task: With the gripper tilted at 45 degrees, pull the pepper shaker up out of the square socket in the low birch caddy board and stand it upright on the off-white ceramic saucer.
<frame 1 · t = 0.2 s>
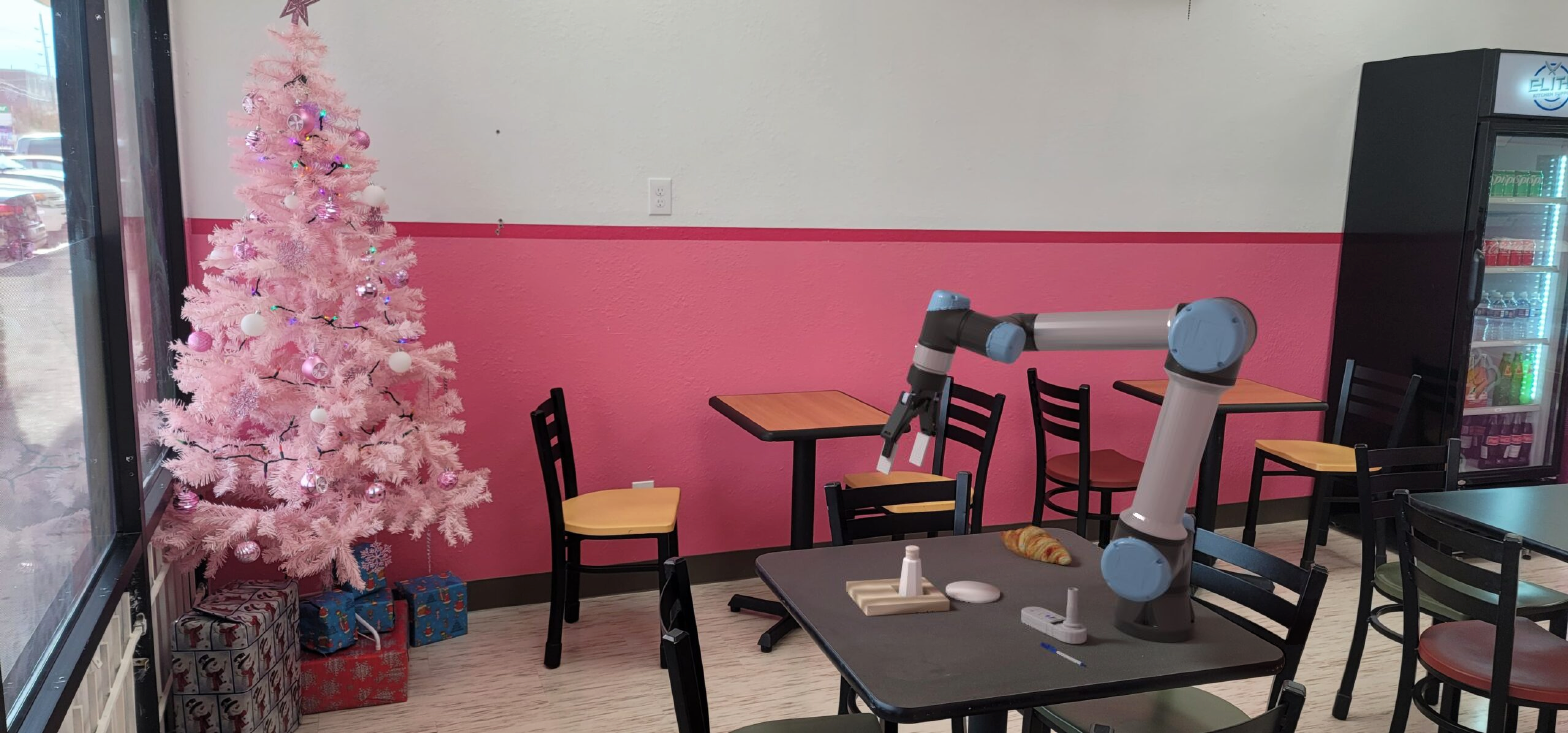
hand: (899, 468, 205), 27 cm above the table, tool pointing down, fingers open, 13 cm apart
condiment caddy: (896, 600, 206), on the table
saucer: (972, 593, 211), on the table
electronic device: (1052, 632, 193), on the table
ballpoint pen: (1062, 658, 181), on the table
pepper shaker: (910, 600, 207), resting in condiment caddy
croissant: (1033, 556, 238), on the table
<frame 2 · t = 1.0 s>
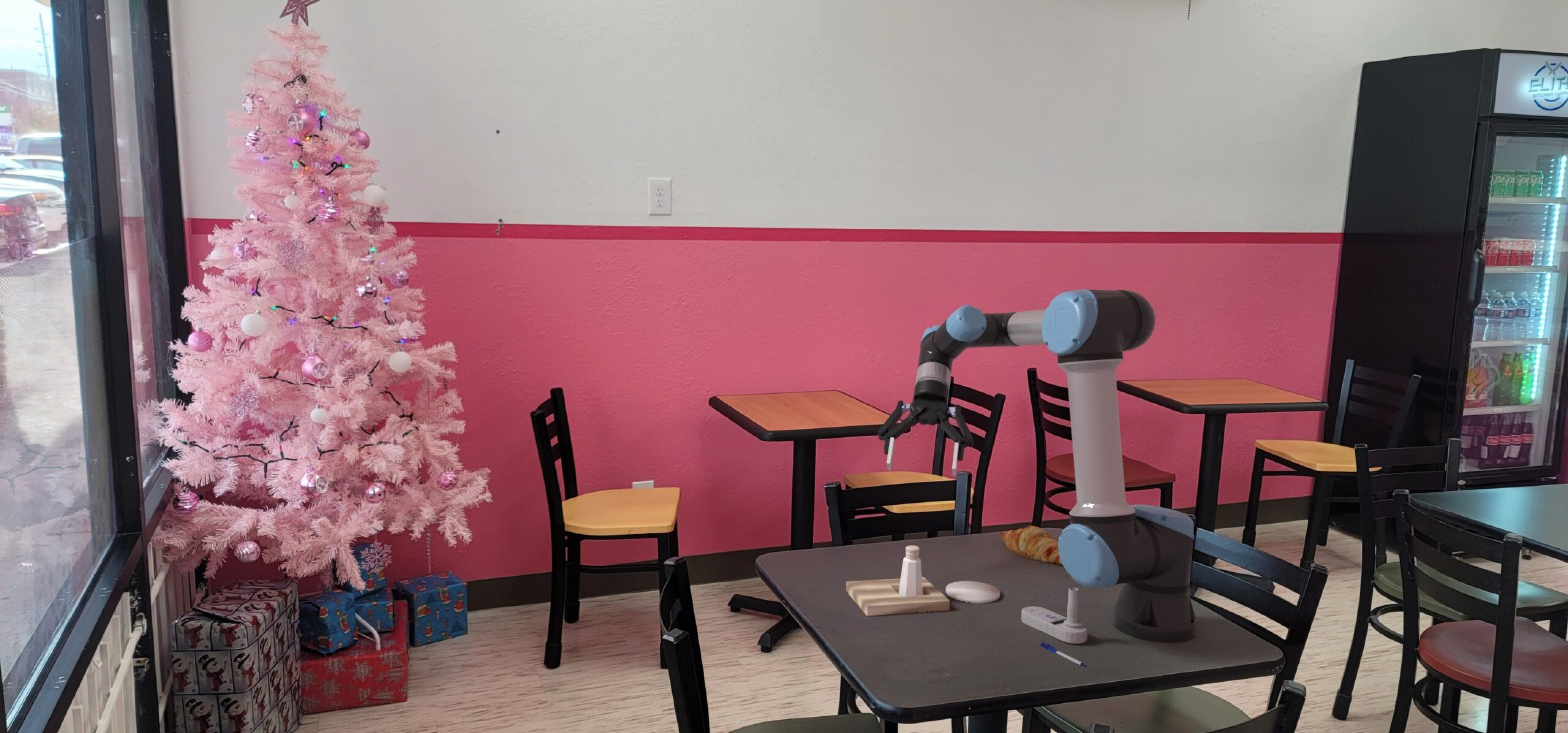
hand: (921, 469, 214), 25 cm above the table, tool tilted 45°, fingers open, 13 cm apart
nothing on the table moved.
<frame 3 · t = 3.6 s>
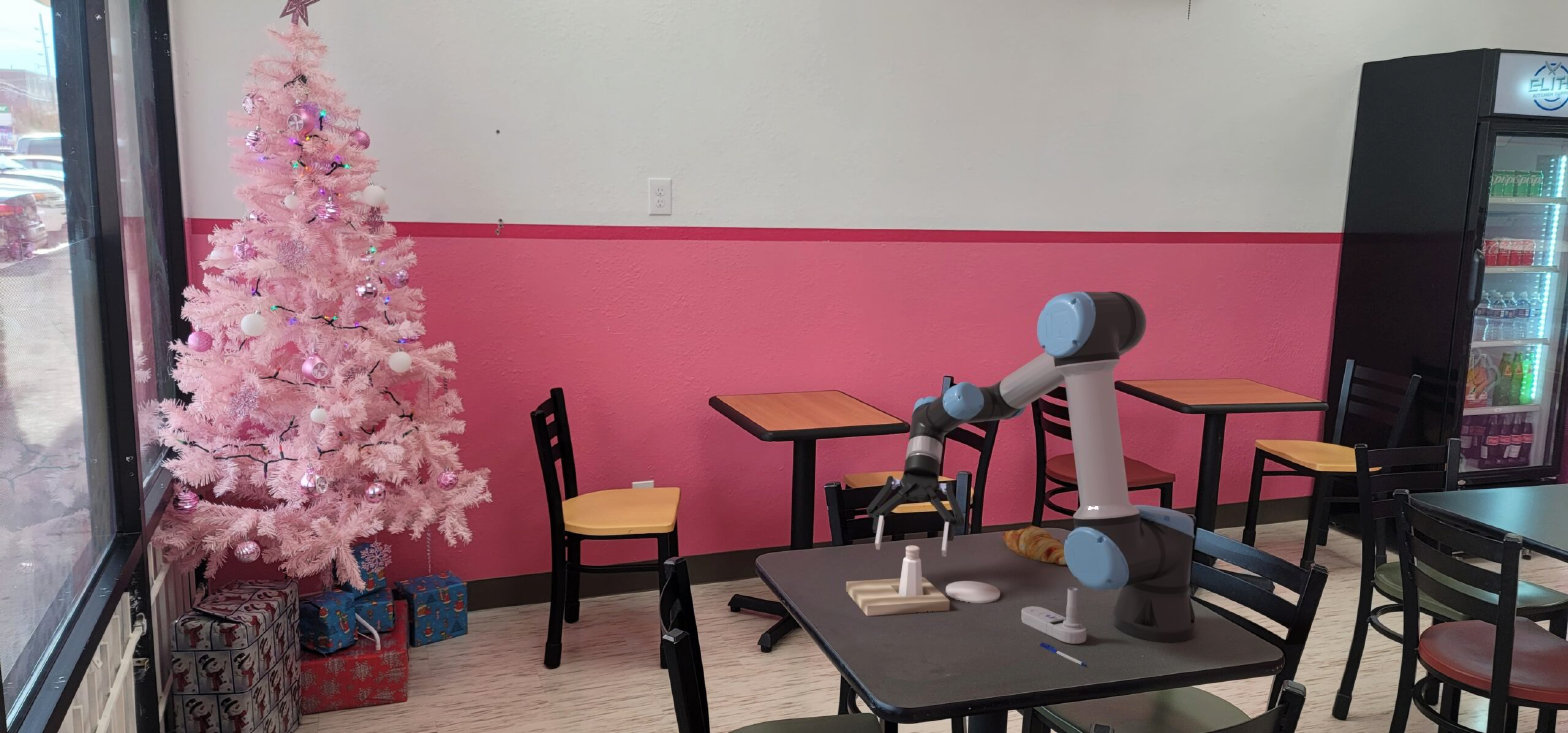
hand: (910, 550, 209), 9 cm above the table, tool tilted 45°, fingers open, 13 cm apart
nothing on the table moved.
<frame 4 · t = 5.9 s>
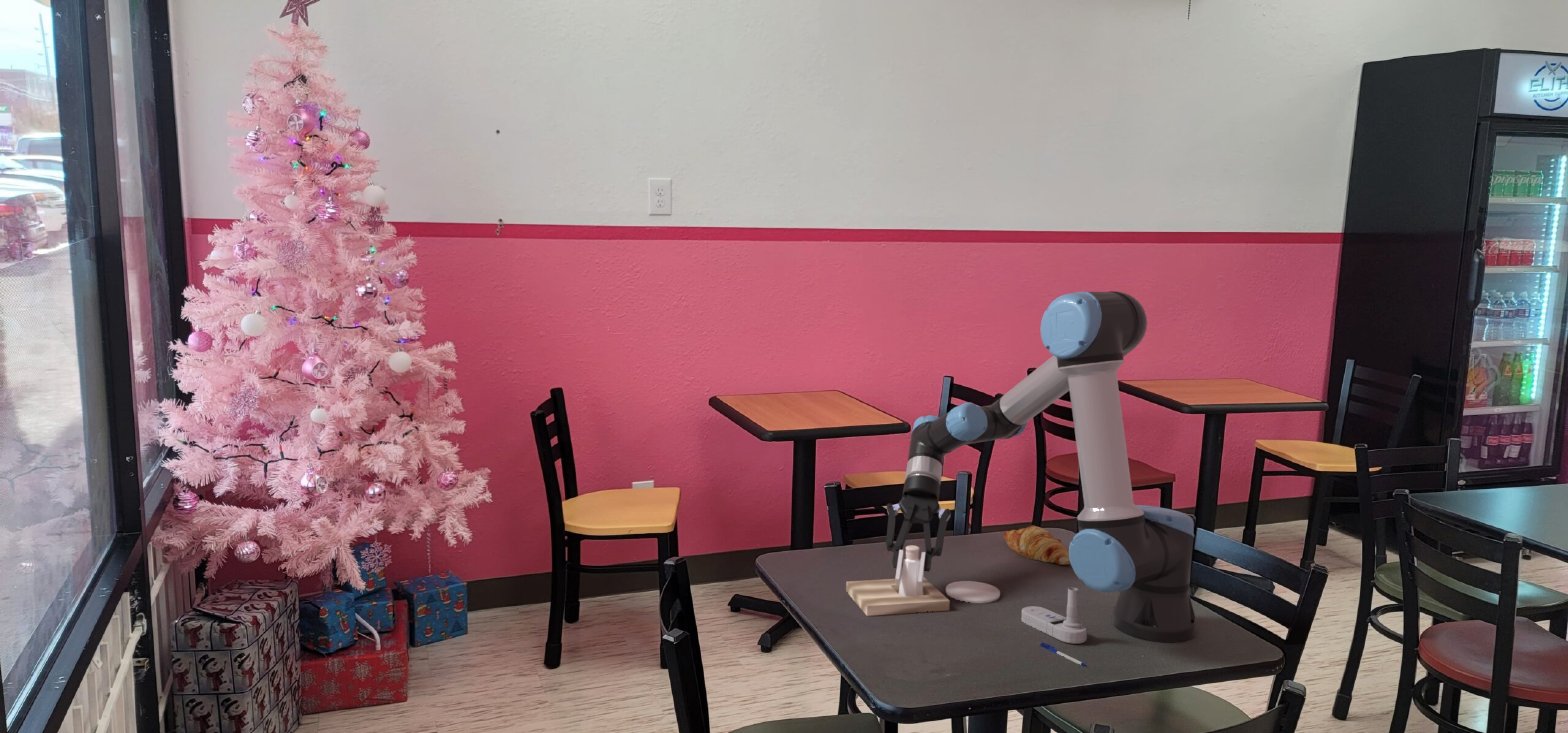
hand: (908, 583, 203), 5 cm above the table, tool tilted 45°, fingers closed on pepper shaker, 4 cm apart
pepper shaker: (910, 600, 207), resting in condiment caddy, touching gripper
everything else where it was.
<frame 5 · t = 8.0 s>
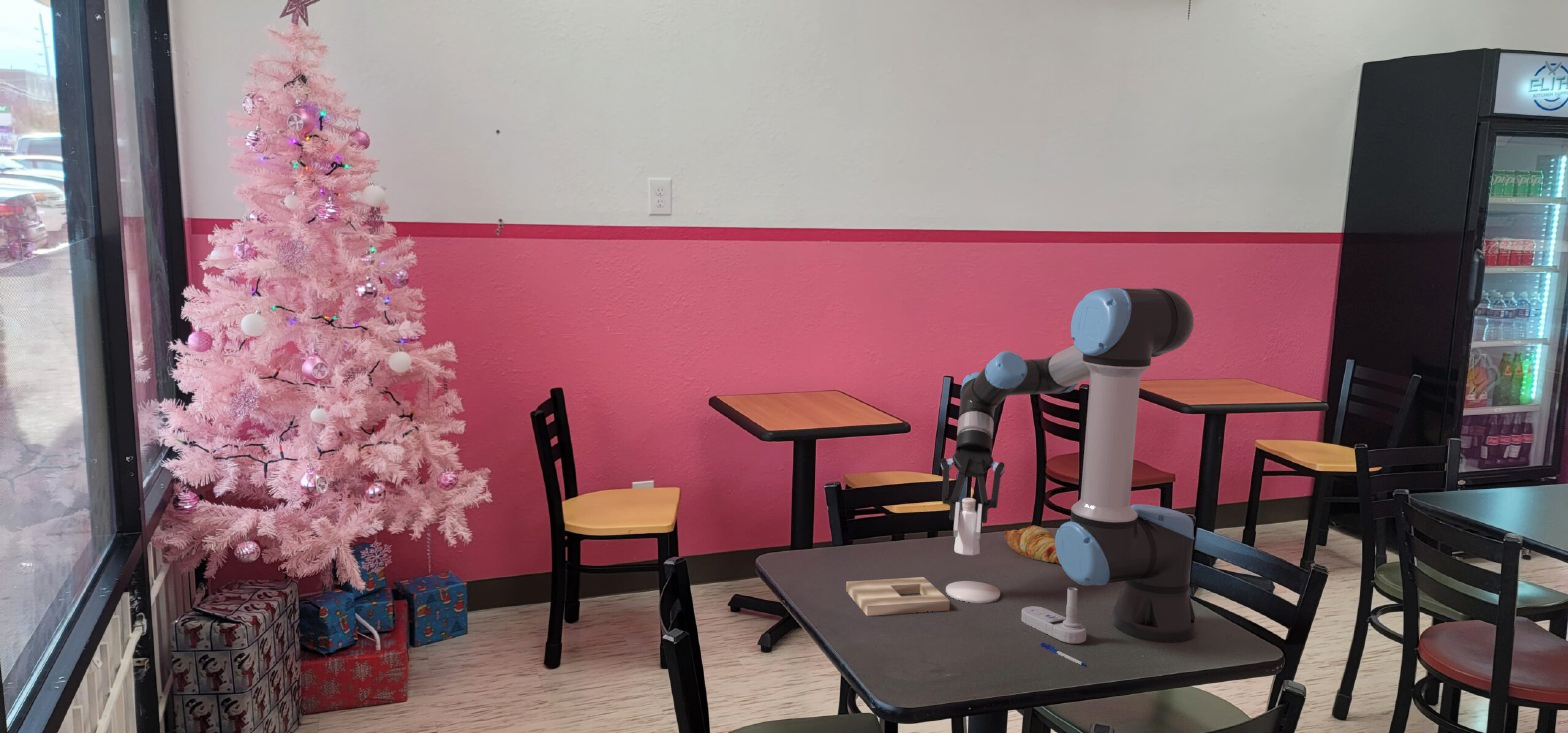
hand: (966, 534, 205), 14 cm above the table, tool tilted 45°, fingers closed on pepper shaker, 4 cm apart
pepper shaker: (966, 552, 210), point 9 cm above the table, touching gripper
everything else where it was.
when the fingers open (7 cm above the table, at t = 10.2 s): pepper shaker drops 1 cm, resting on saucer.
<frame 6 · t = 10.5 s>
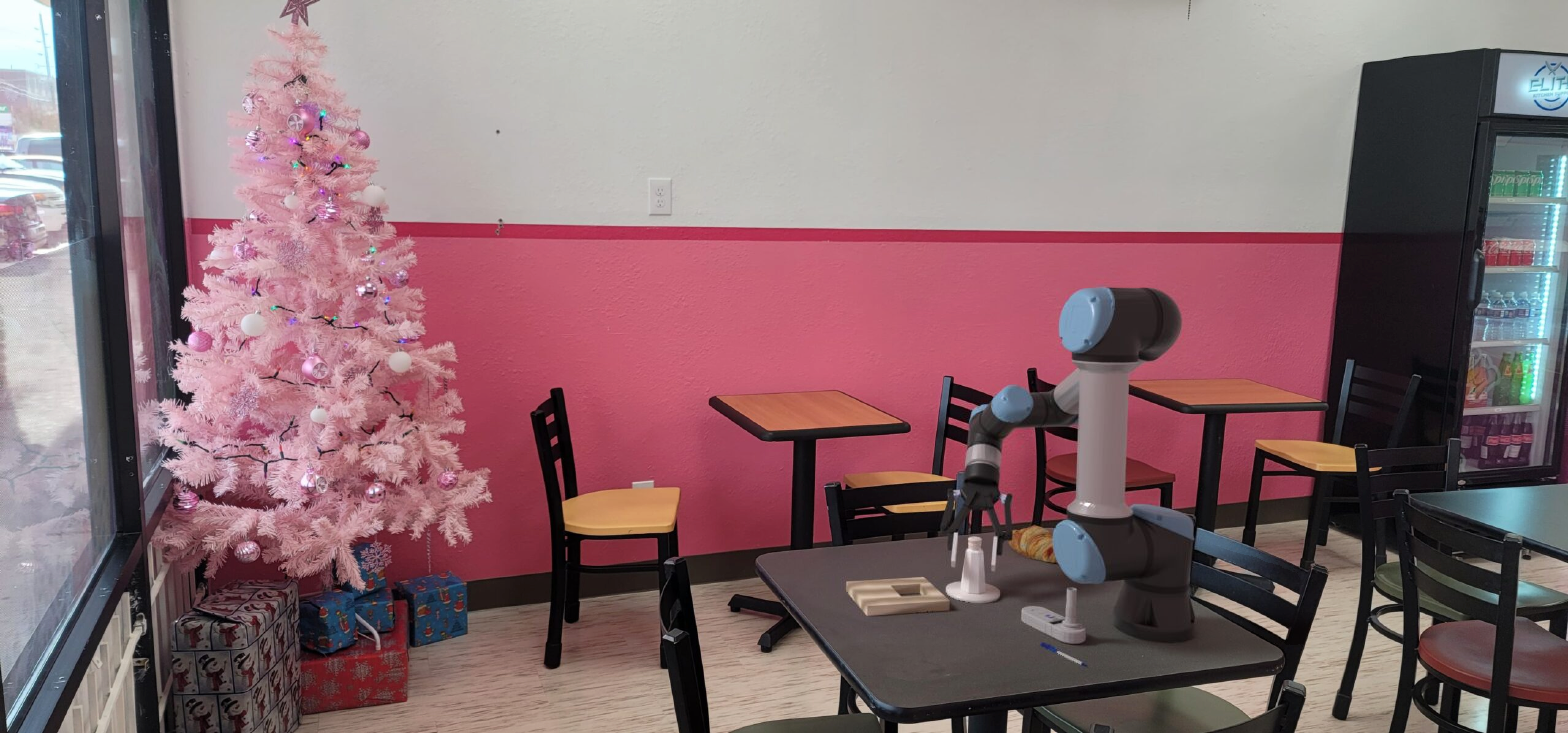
hand: (973, 566, 207), 7 cm above the table, tool tilted 45°, fingers open, 7 cm apart
pepper shaker: (972, 590, 211), point 1 cm above the table, touching saucer
everything else where it was.
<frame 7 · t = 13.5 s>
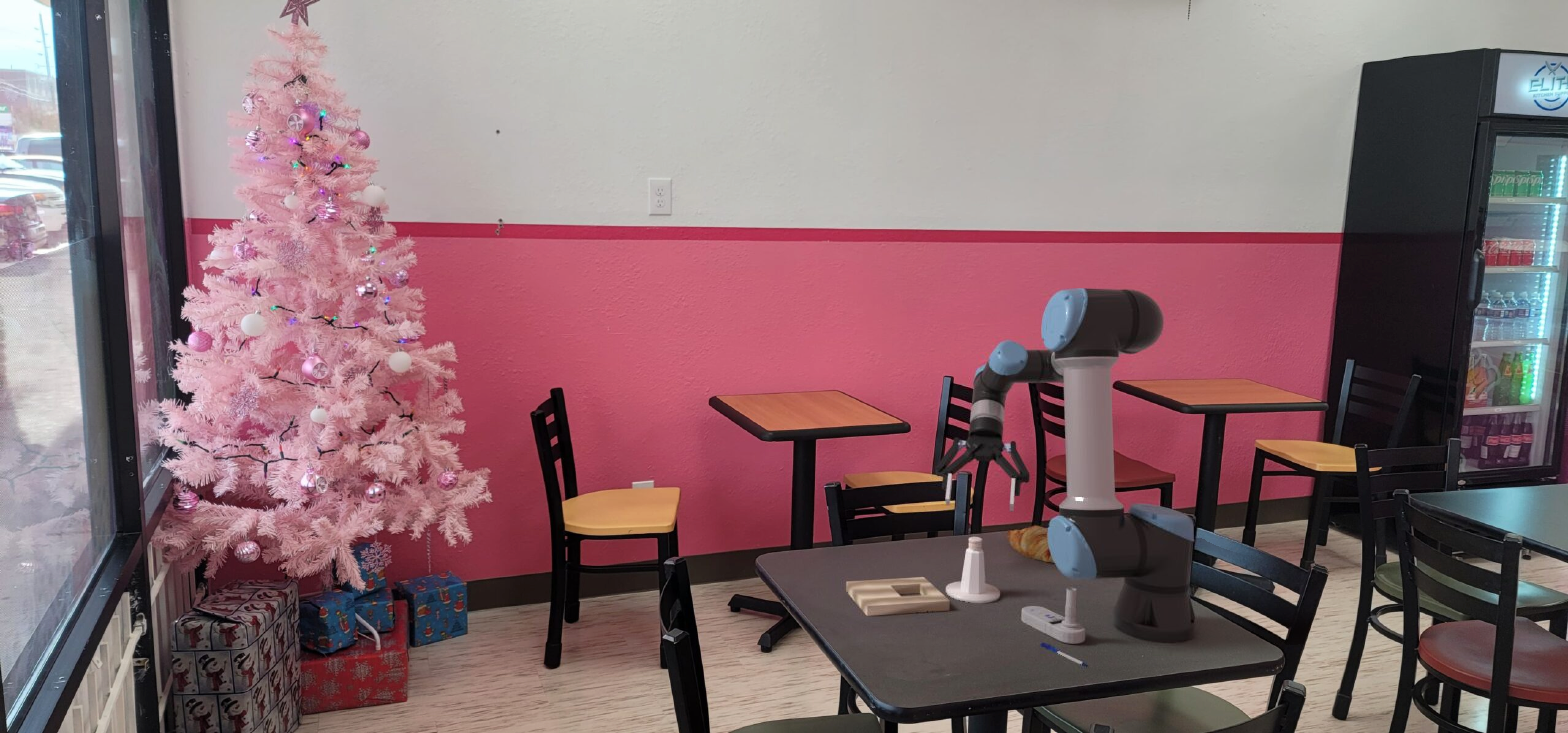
hand: (979, 504, 220), 16 cm above the table, tool tilted 45°, fingers open, 13 cm apart
nothing on the table moved.
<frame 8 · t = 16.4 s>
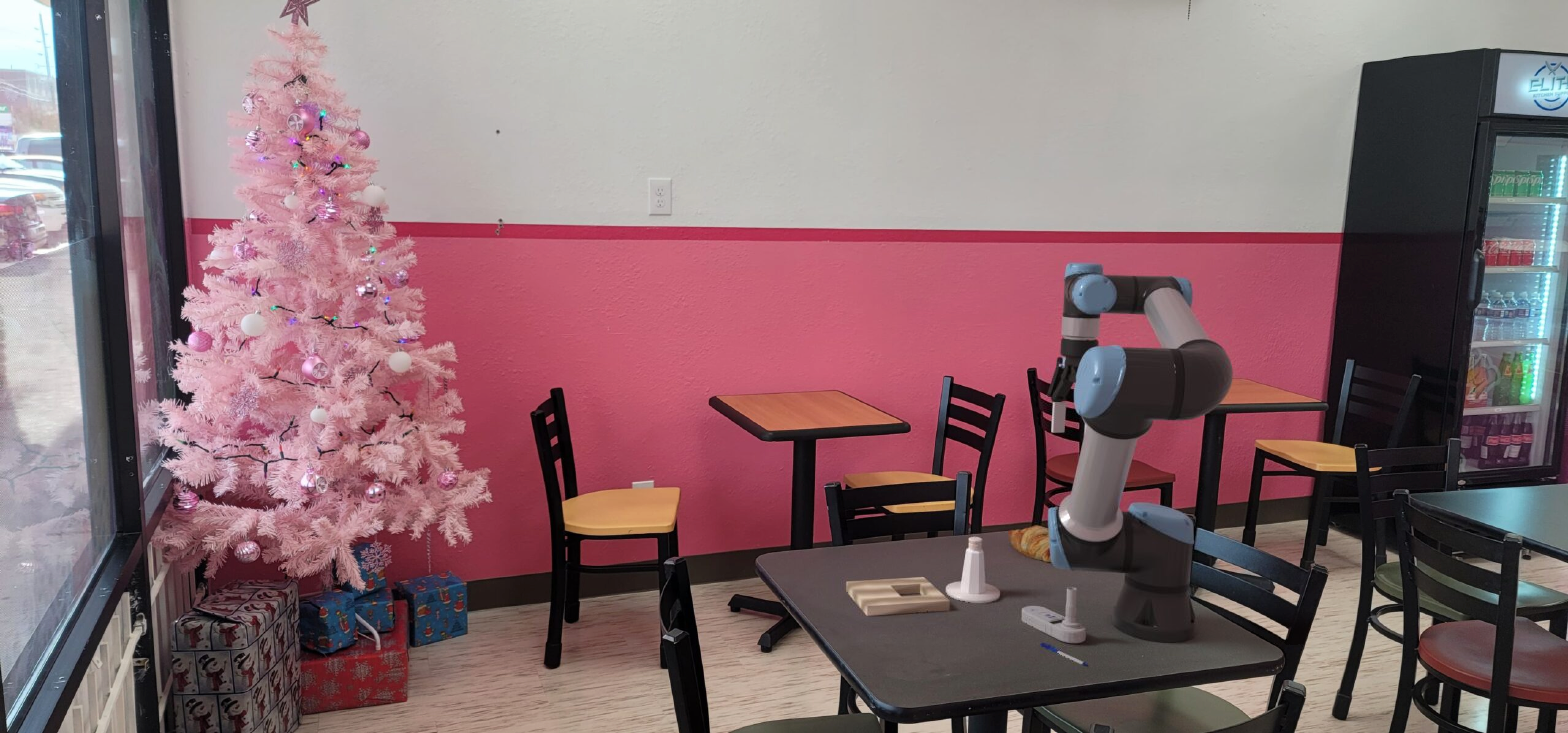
hand: (1073, 438, 214), 32 cm above the table, tool pointing down, fingers open, 13 cm apart
at the end: pepper shaker inside the target area on the saucer (0.1 cm from its centre), point 0.6 cm above the saucer's base; pepper shaker tilted 0°; the gripper is holding nothing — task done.
